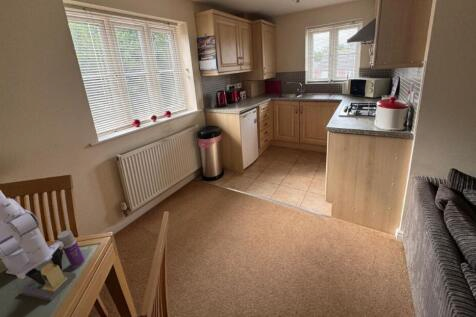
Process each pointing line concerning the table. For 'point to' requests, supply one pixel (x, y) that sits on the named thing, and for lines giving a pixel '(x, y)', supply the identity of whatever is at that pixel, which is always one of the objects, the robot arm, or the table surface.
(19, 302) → the table surface
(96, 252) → the table surface
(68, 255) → the container
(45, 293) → the rail plate
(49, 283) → the tan rectangular block
